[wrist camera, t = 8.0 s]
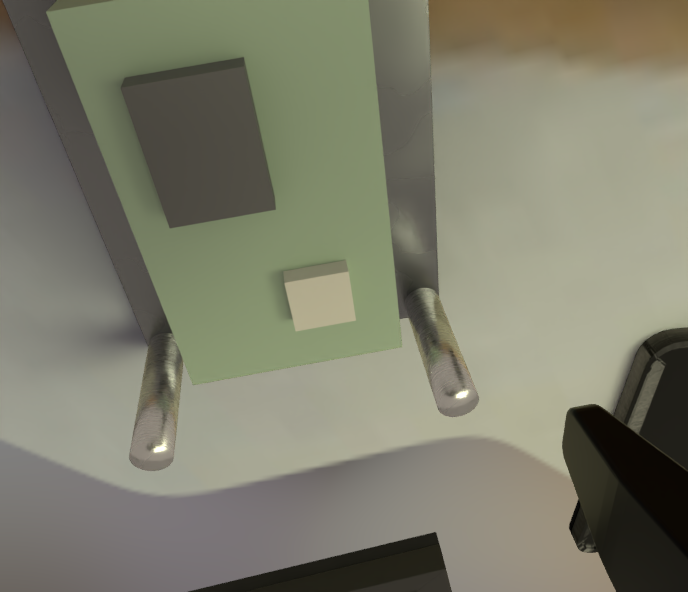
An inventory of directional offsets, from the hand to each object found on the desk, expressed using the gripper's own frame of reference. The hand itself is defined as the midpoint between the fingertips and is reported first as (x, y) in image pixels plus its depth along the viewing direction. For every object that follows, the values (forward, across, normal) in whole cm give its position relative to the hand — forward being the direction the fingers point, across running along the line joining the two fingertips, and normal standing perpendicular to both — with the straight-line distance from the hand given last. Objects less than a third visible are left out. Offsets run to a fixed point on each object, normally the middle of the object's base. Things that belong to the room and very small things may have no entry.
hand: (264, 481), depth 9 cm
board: (+9, 0, 0) cm, 9 cm away
